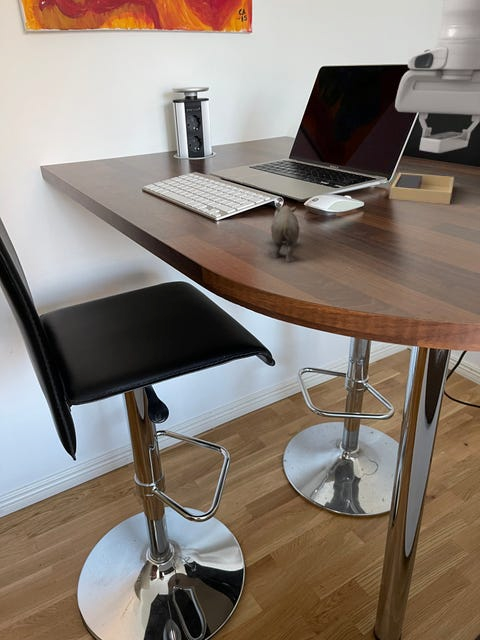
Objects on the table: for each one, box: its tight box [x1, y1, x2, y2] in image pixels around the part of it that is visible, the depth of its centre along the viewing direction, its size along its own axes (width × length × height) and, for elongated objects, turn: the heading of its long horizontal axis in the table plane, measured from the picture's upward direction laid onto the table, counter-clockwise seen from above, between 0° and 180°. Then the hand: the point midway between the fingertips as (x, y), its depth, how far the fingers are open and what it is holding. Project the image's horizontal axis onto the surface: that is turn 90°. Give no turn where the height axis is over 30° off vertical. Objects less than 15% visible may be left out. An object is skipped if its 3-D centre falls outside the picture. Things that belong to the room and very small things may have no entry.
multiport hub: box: [419, 131, 469, 154], centre depth 97 cm, size 4×11×2 cm, turn 131°
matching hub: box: [396, 174, 422, 189], centre depth 103 cm, size 11×4×2 cm, turn 158°
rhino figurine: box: [270, 204, 300, 263], centre depth 75 cm, size 4×14×6 cm, turn 175°
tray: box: [388, 172, 455, 205], centre depth 102 cm, size 14×11×2 cm
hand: (444, 139), depth 96 cm, fingers closed on multiport hub, 6 cm apart
